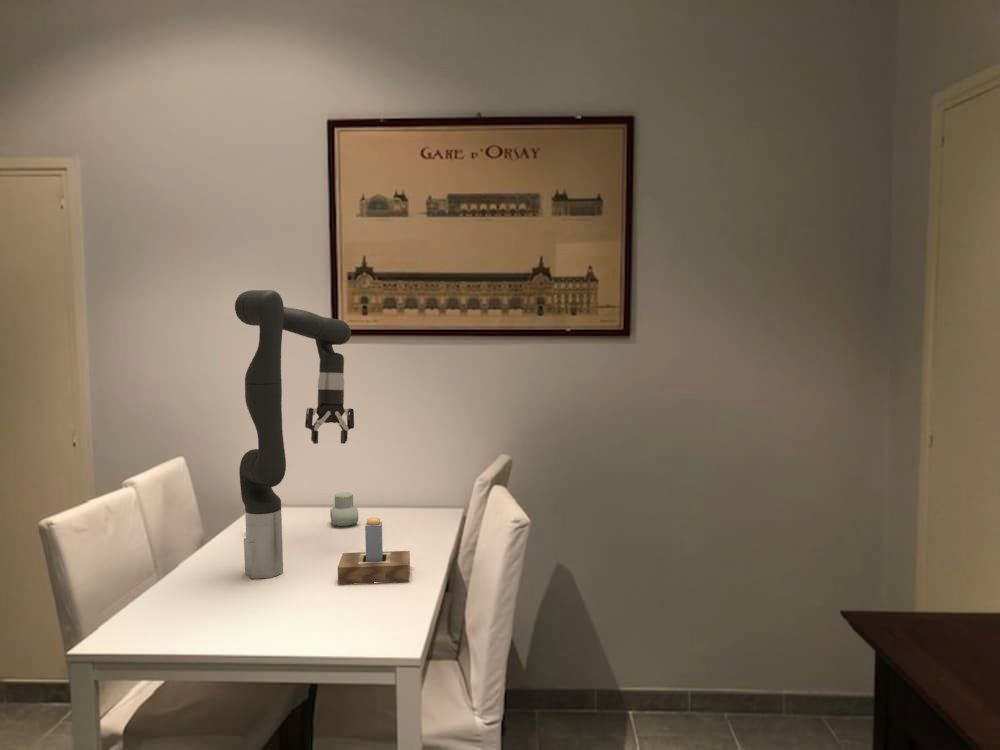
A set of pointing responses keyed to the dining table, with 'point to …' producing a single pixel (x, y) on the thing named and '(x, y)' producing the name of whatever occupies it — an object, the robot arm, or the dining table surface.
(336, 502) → the air freshener
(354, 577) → the socket block
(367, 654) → the dining table surface
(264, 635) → the dining table surface
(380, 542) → the peg
